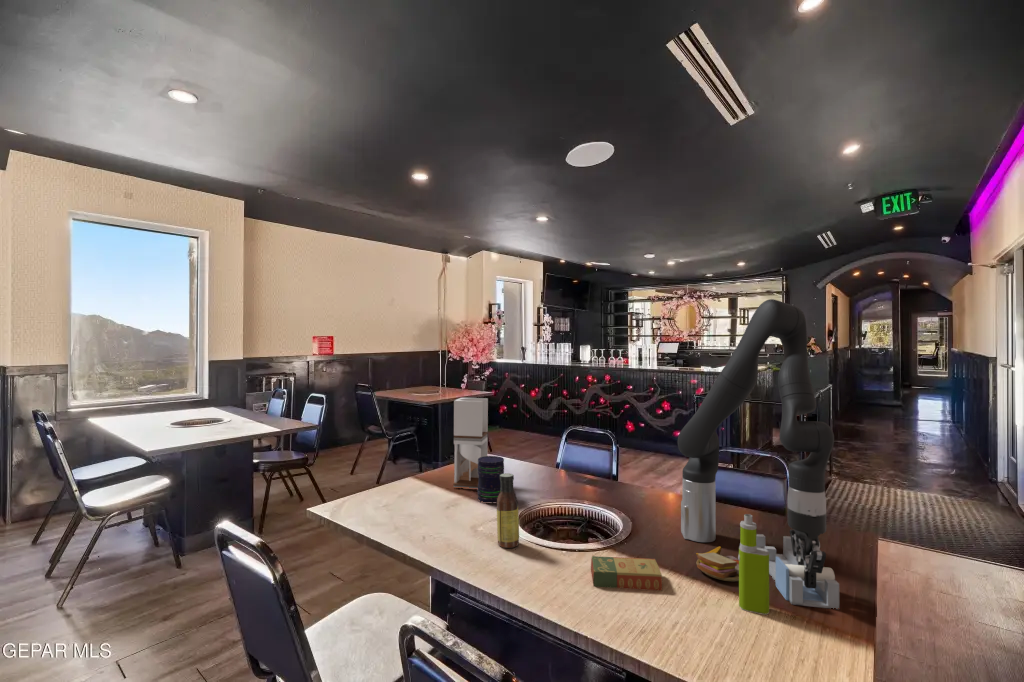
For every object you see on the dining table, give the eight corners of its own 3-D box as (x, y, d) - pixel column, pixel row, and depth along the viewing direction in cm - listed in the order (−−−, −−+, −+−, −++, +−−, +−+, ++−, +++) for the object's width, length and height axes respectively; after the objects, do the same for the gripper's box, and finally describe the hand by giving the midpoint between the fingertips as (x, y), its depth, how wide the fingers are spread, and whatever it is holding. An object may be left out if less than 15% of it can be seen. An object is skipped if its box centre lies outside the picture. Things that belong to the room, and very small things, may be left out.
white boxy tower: (453, 488, 185) (454, 400, 185) (460, 481, 196) (461, 397, 196) (481, 490, 183) (481, 401, 184) (487, 482, 194) (487, 398, 194)
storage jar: (503, 504, 167) (503, 462, 167) (476, 503, 167) (476, 462, 168) (504, 495, 177) (504, 456, 177) (478, 495, 177) (478, 455, 178)
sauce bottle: (523, 544, 133) (523, 475, 134) (508, 551, 129) (508, 479, 129) (507, 537, 138) (507, 470, 138) (492, 544, 133) (492, 474, 134)
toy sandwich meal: (762, 578, 115) (762, 559, 115) (720, 588, 110) (720, 568, 110) (722, 557, 127) (722, 539, 127) (682, 565, 122) (682, 547, 122)
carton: (662, 592, 108) (662, 574, 108) (592, 588, 110) (592, 570, 110) (655, 574, 117) (655, 557, 117) (590, 571, 118) (590, 554, 118)
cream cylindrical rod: (786, 580, 106) (786, 567, 106) (781, 574, 109) (781, 561, 109) (834, 585, 104) (834, 571, 104) (828, 578, 107) (828, 565, 107)
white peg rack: (788, 604, 103) (788, 572, 103) (752, 553, 128) (752, 528, 128) (839, 609, 101) (839, 576, 101) (792, 557, 126) (792, 531, 126)
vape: (737, 600, 104) (737, 511, 105) (768, 606, 102) (767, 515, 102) (738, 609, 101) (738, 516, 101) (770, 615, 99) (770, 521, 99)
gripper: (777, 497, 115) (777, 567, 114) (801, 517, 101) (801, 598, 101) (811, 499, 113) (811, 570, 113) (840, 520, 99) (840, 601, 99)
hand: (807, 583), depth 107 cm, fingers closed on cream cylindrical rod, 3 cm apart
